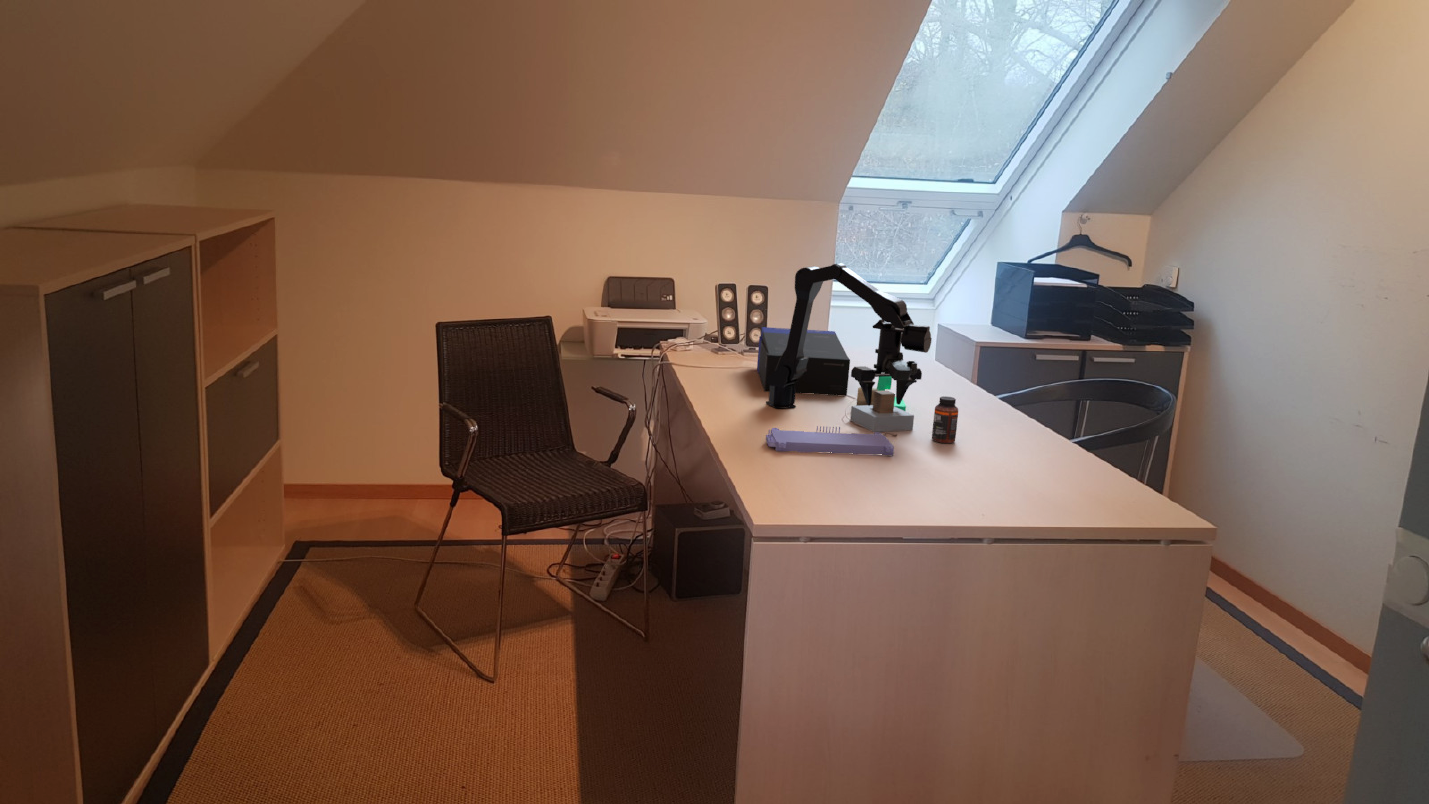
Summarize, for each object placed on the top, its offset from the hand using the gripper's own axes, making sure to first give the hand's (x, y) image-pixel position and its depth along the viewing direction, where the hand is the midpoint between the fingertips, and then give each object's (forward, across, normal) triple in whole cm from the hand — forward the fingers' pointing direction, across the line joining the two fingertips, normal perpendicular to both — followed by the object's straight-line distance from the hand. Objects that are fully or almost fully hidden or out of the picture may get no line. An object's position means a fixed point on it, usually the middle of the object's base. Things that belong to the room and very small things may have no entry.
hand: (883, 404), depth 280 cm
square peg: (+6, 0, 0) cm, 6 cm away
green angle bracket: (+6, +13, +16) cm, 21 cm away
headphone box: (+6, +3, +53) cm, 54 cm away
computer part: (+6, -26, -16) cm, 31 cm away
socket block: (+6, 0, 0) cm, 6 cm away
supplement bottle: (+6, +8, -17) cm, 20 cm away
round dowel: (+6, +5, +16) cm, 18 cm away
